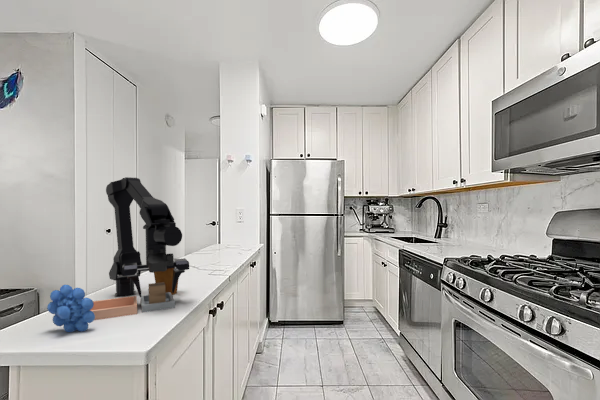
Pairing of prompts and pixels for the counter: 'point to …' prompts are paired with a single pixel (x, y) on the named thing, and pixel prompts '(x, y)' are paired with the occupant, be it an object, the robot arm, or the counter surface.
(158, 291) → the block
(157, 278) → the disposable coffee cup
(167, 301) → the tray
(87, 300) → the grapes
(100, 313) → the dish
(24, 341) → the counter surface
